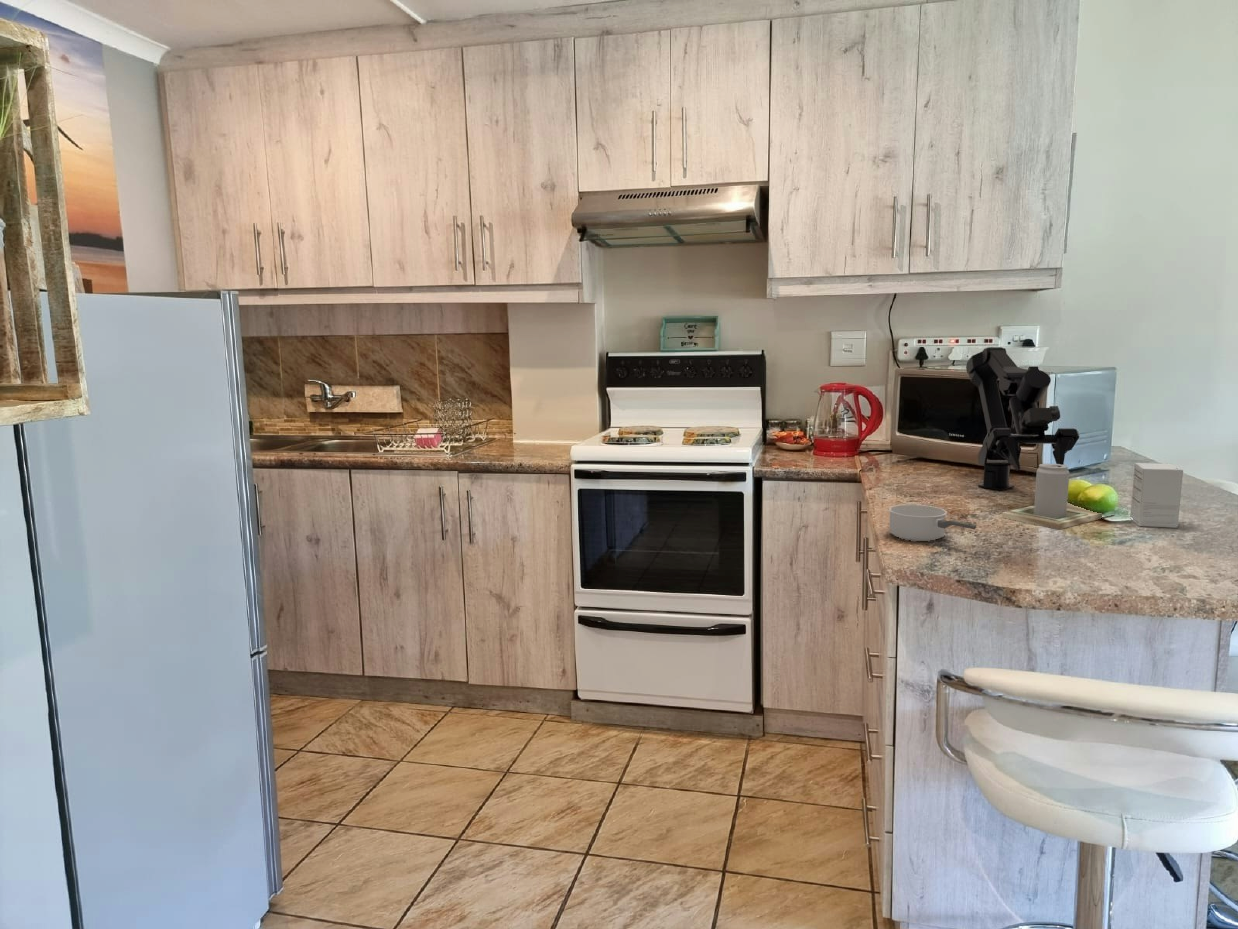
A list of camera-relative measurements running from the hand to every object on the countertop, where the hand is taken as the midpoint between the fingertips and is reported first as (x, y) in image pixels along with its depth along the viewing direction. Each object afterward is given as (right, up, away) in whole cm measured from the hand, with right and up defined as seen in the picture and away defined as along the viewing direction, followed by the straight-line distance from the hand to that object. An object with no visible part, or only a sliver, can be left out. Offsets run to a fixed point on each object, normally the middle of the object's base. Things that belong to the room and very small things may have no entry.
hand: (1039, 469), depth 186 cm
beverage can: (0, -11, -5) cm, 12 cm away
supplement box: (+19, -12, -11) cm, 25 cm away
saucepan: (-33, -15, -22) cm, 42 cm away
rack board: (+3, -10, -3) cm, 11 cm away
